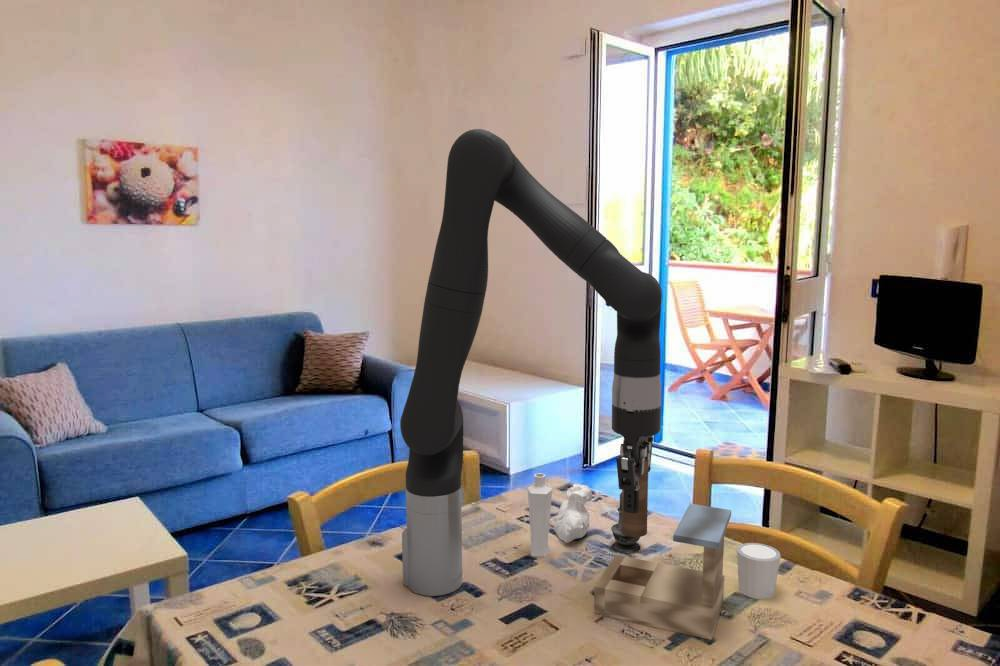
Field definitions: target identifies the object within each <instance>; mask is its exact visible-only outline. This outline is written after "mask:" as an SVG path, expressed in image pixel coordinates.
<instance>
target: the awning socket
mask: <svg viewBox="0 0 1000 666" xmlns="http://www.w3.org/2000/svg"><path fill="white" fill-rule="evenodd" d="M731 518H732V509H726V508H722V507H721V508H720V507H714V506H708V505H701V504H695V503H689V504H688V506H687V508H686V510H685V511H684V513H683V515H682V518H681V520H680V522H679V523H678V526H677V527H676V529H675V530H674V532H673V538H672V541H673V542H676V543H681V544H688V545H693V546H699V547H703V556H702V557H703V559H702V571H701V570H698V569H691V568H687V567H683V566H682V567H681V566H677V565H672V564H665V563H662V562H661V563H660V562H655V561H652V560H651V561H650V560H645V559H640V558H636V557H630V556H625V555H619V554H614V557H613V558H612V560H611V561H610V562H609V564H608V565H607V567H606V569H604V571H603V573H602V574H601V576H600V578H598V581H597V582H596V583H595V585H594V587H593V589H594V591H593V592H594V593H593V594H594V597H593V613H594V614H595V615H596V614H597V615H602V616H605V617H611V618H614V619H618V620H622V621H626V622H631V623H634V624H635V623H636V624H641V625H643V626H644V625H645V626H649V627H654V628H657V629H660V630H661V629H662V630H666V631H670V632H674V633H675V632H676V633H680V634H683V635H688V636H693V637H696V638H697V637H698V638H702V639H706V640H710V641H712V640H713V637H714V633H715V630H716V627H717V622H718V619H719V617H720V614H721V610H722V606H723V603H724V598H725V596H724V592H725V574H724V575H723V571H724V570H723V569H724V554H725V553H724V551H725V533H726V531H727V528H728V526H729V522H730V520H731Z"/></svg>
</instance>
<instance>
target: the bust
mask: <svg viewBox="0 0 1000 666" xmlns="http://www.w3.org/2000/svg"><path fill="white" fill-rule="evenodd" d="M565 493H566V498H567V499H566V500H564V501H563V502H562V503H561V505H560V507H559V509H558V513H557V516H556V519H555V521H554V524H553V529H554V532H555V534H556V535H557V536H558V539H559V540H561V541H563V542H564V543H565V544H569V543H570V542H572V541H574V540H577V539H581V538H583V537H584V536H585V535H586V534H587V532H588V530H589V529H590V528H589V527H590V512H589V511H588V510H587V508H586V506H585V504H586V503H588V502H591V501H592V499H593V493H592V490H591V489H590V487H589V486H588V485H585V484H584V485H583V484H582V485H581V484H579V483H573V485H572V486H571V487H569V489H567V490H566V492H565Z"/></svg>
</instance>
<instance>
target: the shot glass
mask: <svg viewBox="0 0 1000 666" xmlns="http://www.w3.org/2000/svg"><path fill="white" fill-rule="evenodd" d="M736 554H737V556H736V558H737V576H738V577H737V578H738V591H739V592H740V593H741V594H742V595H745V596H746V597H749V598H751V599H757V600H768V599H771V598H773V597H774V595H775V593H776V587H777V581H778V575H779V567H780V564H781V563H780V562H781V553H780V551H779V550H778V549H777V548H775V547H773V546H770V545H767V544H763V543H760V542H745V543H742V544H738V546H736Z"/></svg>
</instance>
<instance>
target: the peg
mask: <svg viewBox="0 0 1000 666" xmlns="http://www.w3.org/2000/svg"><path fill="white" fill-rule="evenodd" d="M638 469H639V466H638V467H635V470H638ZM627 482H631V480H630V479H627ZM639 486H640V488H639V510H638V512H637V513H636V514H634V513H627V512H625V511H624V489H621V492H622V533H623V534H624V535H627V536H630V537H640V538H642V537H644V536H646V535H648V507H649V506H648V505H649V504H648V503H649V502H648V501H649V499H648V497H649V495H648V494H649V472H648V459H647V458H645V461H644V473H643V475H642V476H640V483H639Z"/></svg>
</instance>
